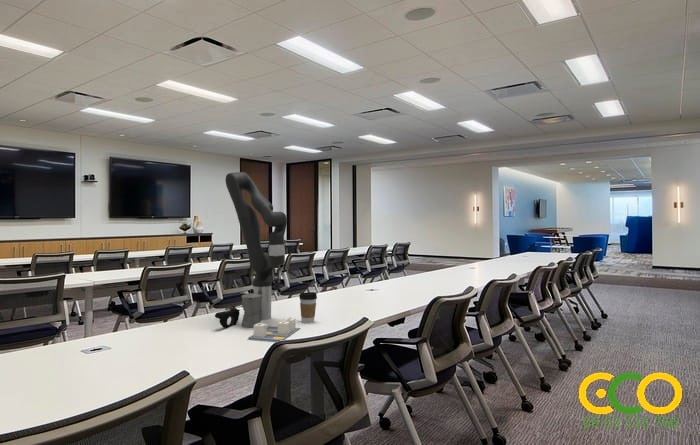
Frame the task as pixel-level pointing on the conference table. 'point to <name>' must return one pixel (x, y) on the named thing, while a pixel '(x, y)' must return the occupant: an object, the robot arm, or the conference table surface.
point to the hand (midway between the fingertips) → (277, 288)
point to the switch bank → (272, 335)
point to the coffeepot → (251, 309)
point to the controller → (226, 314)
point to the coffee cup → (308, 306)
